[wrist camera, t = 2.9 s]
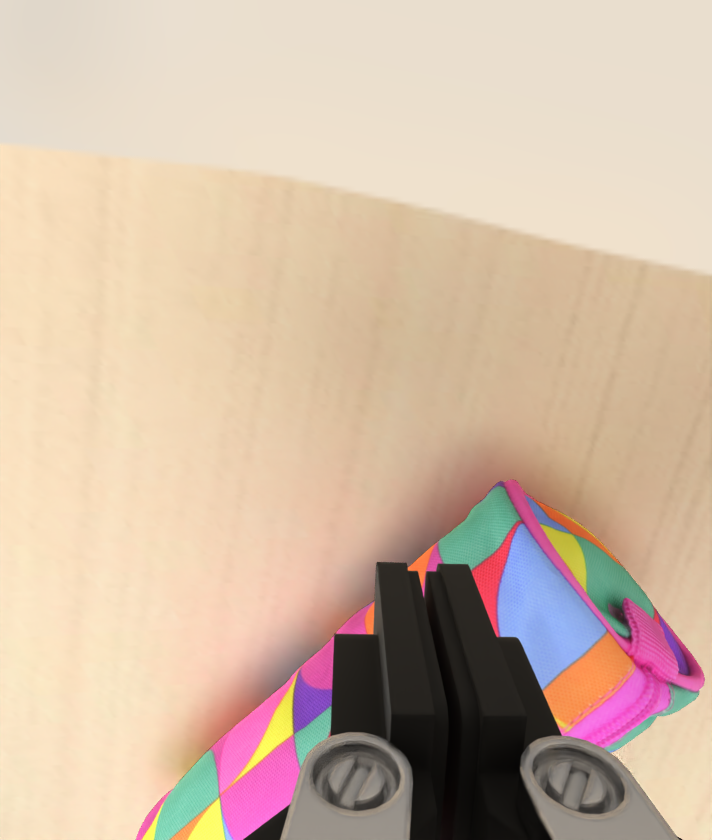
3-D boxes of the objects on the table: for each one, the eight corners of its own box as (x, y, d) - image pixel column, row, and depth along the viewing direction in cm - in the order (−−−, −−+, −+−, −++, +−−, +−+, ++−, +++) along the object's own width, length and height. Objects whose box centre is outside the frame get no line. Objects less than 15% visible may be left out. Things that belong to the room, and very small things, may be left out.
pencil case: (306, 888, 30) (286, 1152, 21) (143, 781, 28) (48, 1019, 20) (650, 571, 25) (802, 738, 17) (480, 424, 24) (550, 525, 15)
